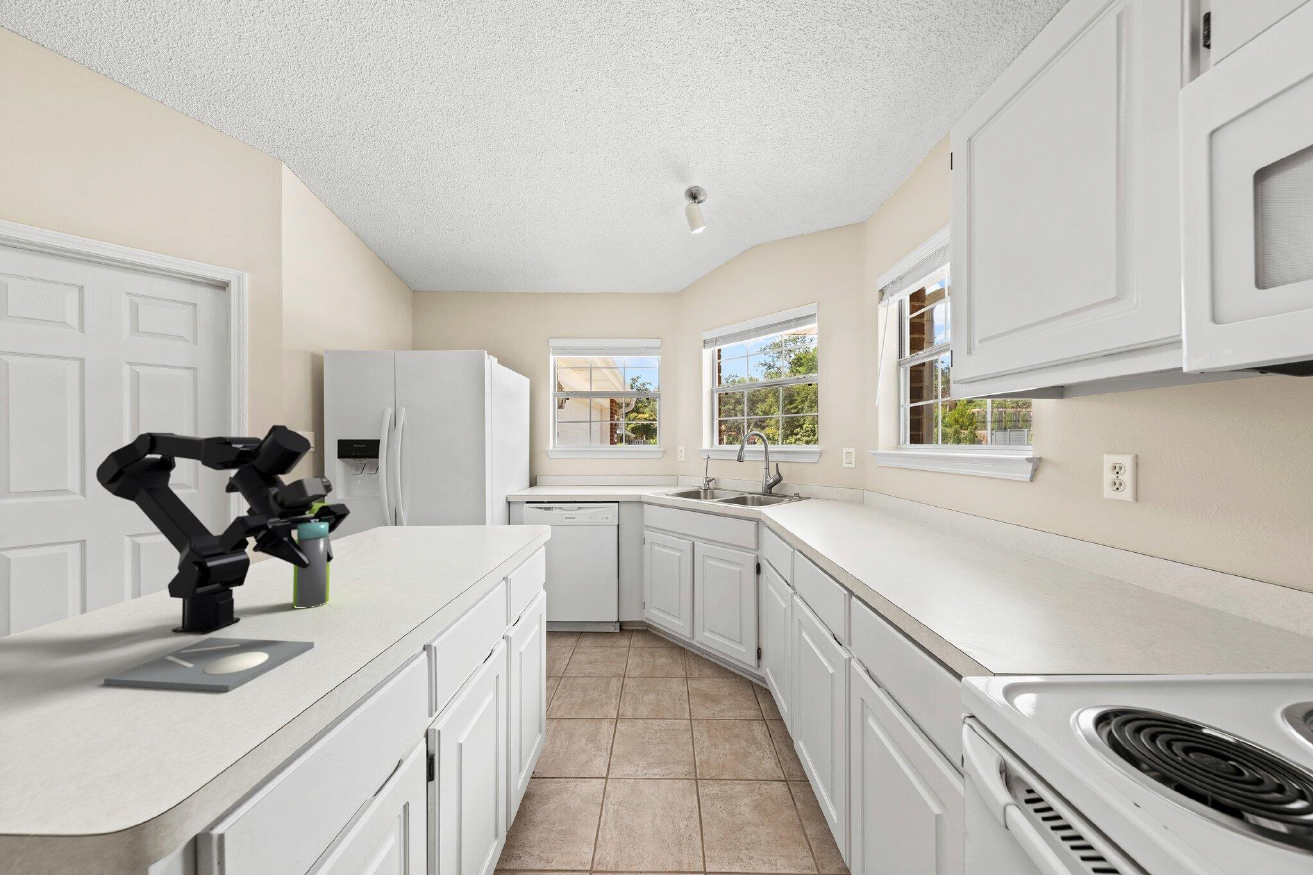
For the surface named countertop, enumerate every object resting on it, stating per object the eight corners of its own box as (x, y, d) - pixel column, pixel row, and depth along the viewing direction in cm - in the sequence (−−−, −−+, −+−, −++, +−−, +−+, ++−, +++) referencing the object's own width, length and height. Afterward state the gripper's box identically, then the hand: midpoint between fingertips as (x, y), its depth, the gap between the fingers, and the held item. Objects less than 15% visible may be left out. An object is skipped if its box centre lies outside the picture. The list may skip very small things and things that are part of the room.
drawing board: (103, 684, 64) (104, 677, 64) (209, 642, 78) (209, 636, 78) (228, 691, 63) (228, 684, 63) (313, 647, 77) (314, 641, 77)
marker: (288, 606, 78) (290, 525, 78) (310, 598, 82) (312, 521, 83) (311, 608, 78) (313, 526, 78) (333, 599, 82) (334, 522, 82)
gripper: (235, 462, 72) (293, 541, 70) (342, 459, 90) (392, 521, 88) (193, 513, 74) (249, 592, 71) (307, 500, 92) (354, 562, 89)
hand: (319, 563), depth 80 cm, fingers closed on marker, 4 cm apart
